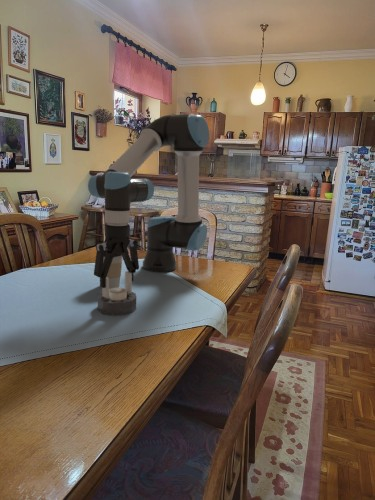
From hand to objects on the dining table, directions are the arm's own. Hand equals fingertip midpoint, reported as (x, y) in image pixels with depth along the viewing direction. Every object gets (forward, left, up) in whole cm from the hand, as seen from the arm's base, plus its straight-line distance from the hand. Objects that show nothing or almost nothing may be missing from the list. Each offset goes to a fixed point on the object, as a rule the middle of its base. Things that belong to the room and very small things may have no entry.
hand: (117, 293), depth 114 cm
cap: (0, 0, -5) cm, 5 cm away
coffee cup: (-9, -19, -5) cm, 22 cm away
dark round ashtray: (0, 0, -5) cm, 5 cm away
